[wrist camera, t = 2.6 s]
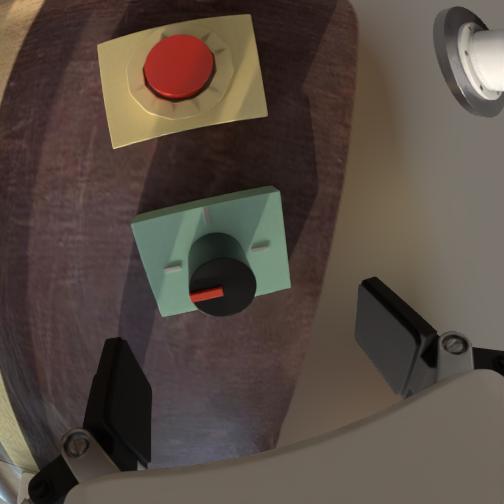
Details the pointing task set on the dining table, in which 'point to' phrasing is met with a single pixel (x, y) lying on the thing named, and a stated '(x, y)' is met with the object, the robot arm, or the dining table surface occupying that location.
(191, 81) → the button
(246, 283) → the knob
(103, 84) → the button block
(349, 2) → the dining table surface
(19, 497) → the cylinder
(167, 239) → the dial panel
